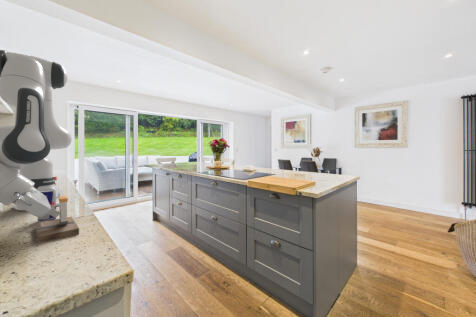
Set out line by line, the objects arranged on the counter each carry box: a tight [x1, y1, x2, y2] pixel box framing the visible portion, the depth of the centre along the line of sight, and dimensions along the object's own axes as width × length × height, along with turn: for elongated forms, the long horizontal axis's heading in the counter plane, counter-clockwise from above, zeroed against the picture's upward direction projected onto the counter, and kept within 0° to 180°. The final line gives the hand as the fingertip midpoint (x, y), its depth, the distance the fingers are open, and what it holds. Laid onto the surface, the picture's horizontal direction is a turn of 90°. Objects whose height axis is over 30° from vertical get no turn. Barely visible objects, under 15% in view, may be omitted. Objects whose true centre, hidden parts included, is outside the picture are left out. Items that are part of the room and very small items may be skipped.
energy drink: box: [37, 189, 57, 223], centre depth 79 cm, size 5×5×12 cm
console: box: [35, 216, 80, 244], centre depth 70 cm, size 10×16×2 cm, turn 47°
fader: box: [58, 195, 69, 225], centre depth 71 cm, size 2×5×9 cm, turn 47°
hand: (57, 214), depth 70 cm, fingers closed, pressing on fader
